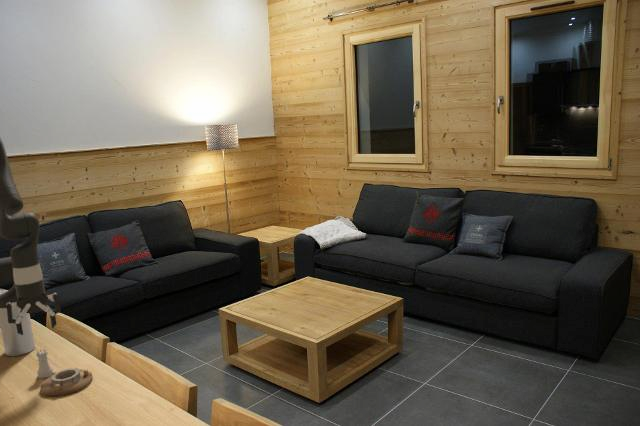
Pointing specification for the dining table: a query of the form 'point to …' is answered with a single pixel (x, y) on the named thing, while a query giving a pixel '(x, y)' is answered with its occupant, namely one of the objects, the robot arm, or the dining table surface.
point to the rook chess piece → (43, 365)
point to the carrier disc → (66, 382)
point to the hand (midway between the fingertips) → (37, 330)
